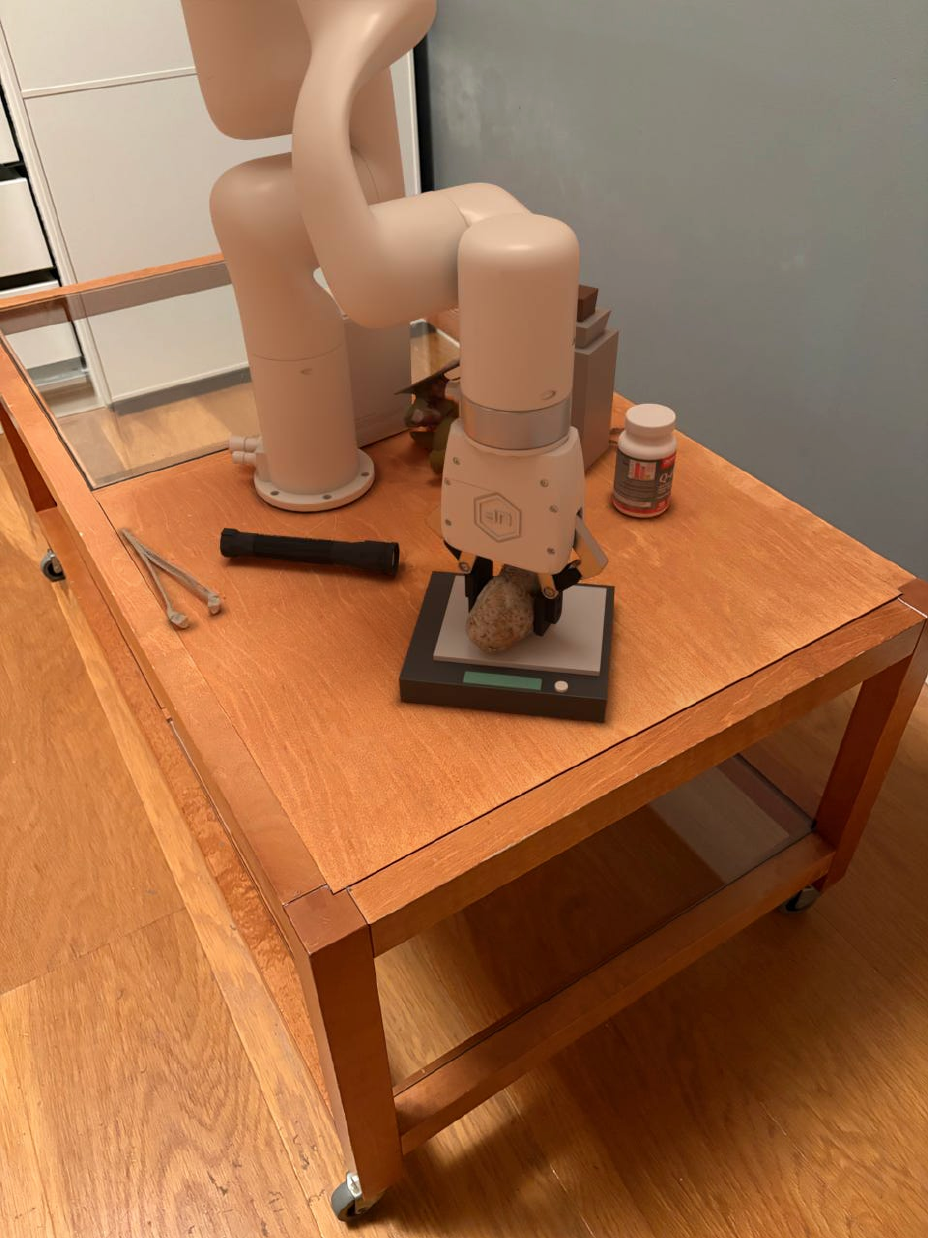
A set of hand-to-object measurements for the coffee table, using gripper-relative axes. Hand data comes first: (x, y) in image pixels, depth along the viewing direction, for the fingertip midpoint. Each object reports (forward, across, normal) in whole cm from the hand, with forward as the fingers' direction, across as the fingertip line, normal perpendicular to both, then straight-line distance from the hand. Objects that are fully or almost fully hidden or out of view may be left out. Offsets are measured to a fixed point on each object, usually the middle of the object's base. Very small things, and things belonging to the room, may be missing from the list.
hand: (512, 613), depth 76 cm
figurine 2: (+3, -17, +24) cm, 30 cm away
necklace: (+3, -4, +37) cm, 38 cm away
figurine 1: (-4, -24, +29) cm, 38 cm away
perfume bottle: (+4, -8, +32) cm, 33 cm away
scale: (+4, 0, 0) cm, 4 cm away
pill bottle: (+4, +2, +26) cm, 26 cm away
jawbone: (+5, -34, -5) cm, 35 cm away
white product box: (+4, -32, +28) cm, 43 cm away
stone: (-2, +3, -1) cm, 3 cm away
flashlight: (+4, -22, +3) cm, 23 cm away
